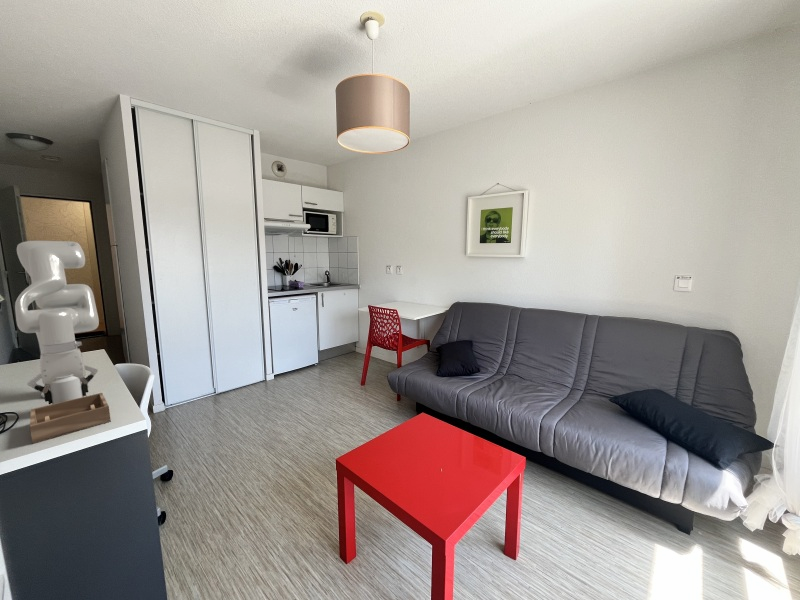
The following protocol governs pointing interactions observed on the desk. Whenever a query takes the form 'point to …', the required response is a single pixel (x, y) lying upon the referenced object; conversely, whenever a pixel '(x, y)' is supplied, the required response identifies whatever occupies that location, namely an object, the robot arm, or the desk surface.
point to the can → (65, 389)
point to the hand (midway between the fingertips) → (67, 398)
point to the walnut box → (68, 417)
